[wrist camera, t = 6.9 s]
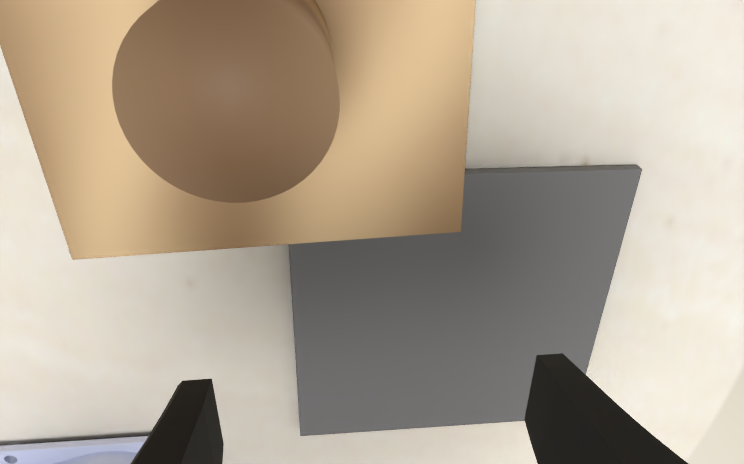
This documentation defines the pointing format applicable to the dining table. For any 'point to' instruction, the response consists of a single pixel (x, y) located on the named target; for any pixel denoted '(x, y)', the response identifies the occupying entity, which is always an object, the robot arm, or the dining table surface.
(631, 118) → the dining table surface
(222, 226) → the oak lid
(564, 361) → the robot arm
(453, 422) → the rubber mat
